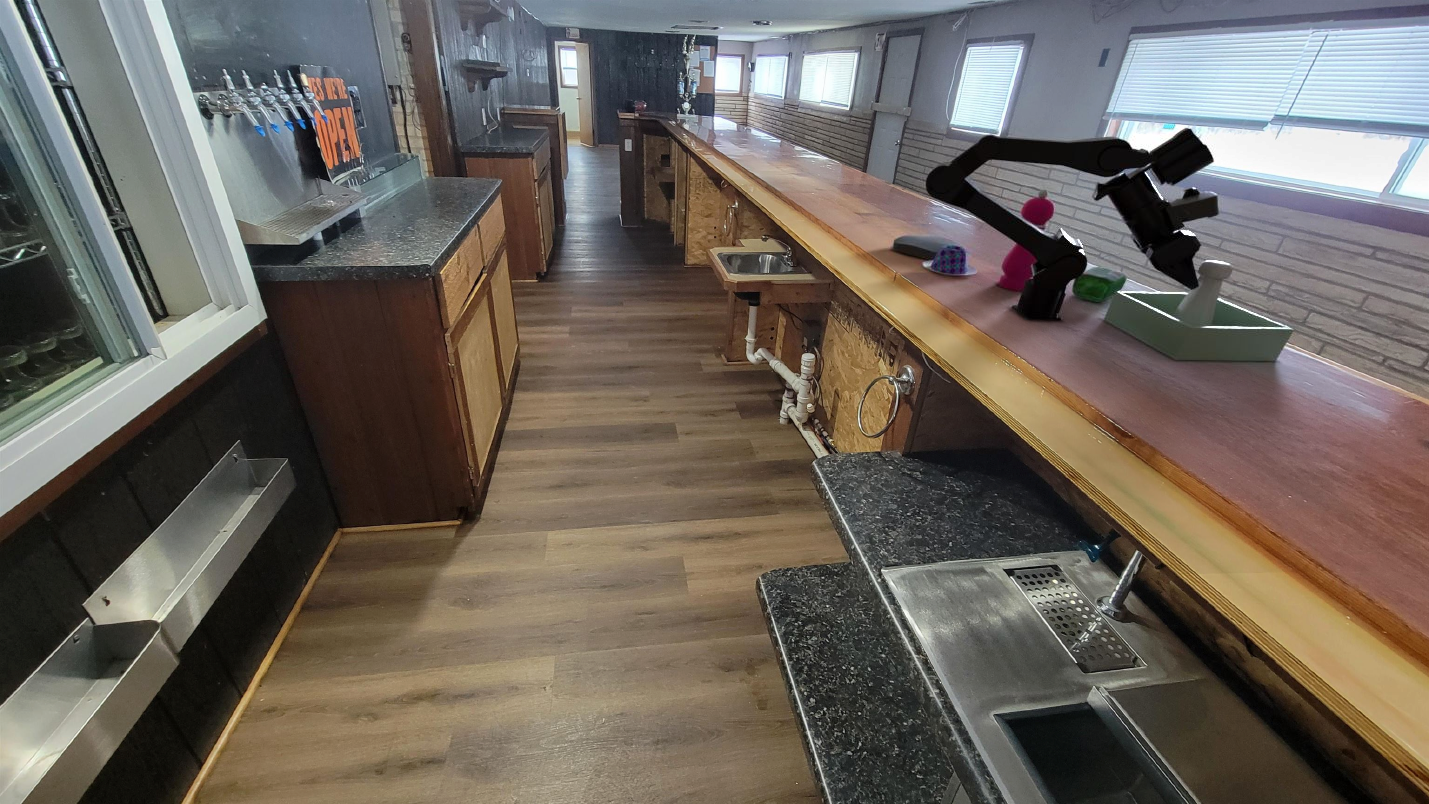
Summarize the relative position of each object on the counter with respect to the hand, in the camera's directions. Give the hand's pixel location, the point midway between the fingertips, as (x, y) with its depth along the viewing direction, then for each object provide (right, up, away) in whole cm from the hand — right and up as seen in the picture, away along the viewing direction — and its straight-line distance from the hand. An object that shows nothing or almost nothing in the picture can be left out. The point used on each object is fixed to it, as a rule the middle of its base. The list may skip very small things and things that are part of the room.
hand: (1188, 280), depth 95 cm
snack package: (0, +2, +24) cm, 24 cm away
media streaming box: (-26, +18, +50) cm, 59 cm away
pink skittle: (-15, +4, +27) cm, 31 cm away
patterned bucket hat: (-26, +10, +36) cm, 45 cm away
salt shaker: (+2, -9, +4) cm, 10 cm away
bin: (+2, -9, +4) cm, 11 cm away
